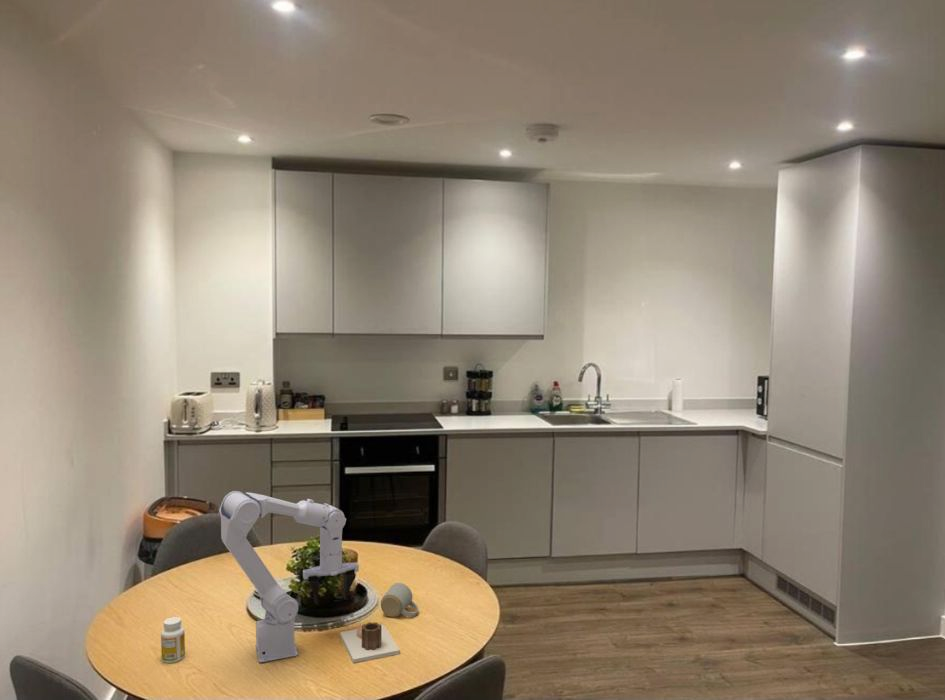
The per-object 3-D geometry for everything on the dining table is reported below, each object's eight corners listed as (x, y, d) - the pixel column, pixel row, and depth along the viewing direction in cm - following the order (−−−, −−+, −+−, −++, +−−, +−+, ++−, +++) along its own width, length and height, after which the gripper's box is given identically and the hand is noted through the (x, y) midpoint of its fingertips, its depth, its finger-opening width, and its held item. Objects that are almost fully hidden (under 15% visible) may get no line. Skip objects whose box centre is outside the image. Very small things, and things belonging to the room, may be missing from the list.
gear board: (353, 663, 170) (353, 647, 170) (340, 635, 184) (339, 621, 184) (399, 653, 175) (399, 638, 175) (383, 627, 189) (383, 613, 189)
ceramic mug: (378, 616, 195) (379, 591, 195) (389, 604, 203) (389, 580, 202) (412, 622, 193) (413, 596, 192) (421, 610, 200) (422, 585, 200)
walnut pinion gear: (364, 651, 174) (364, 632, 174) (359, 642, 179) (359, 624, 178) (383, 648, 176) (383, 629, 176) (378, 639, 181) (378, 620, 180)
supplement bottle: (178, 650, 176) (177, 613, 175) (189, 657, 172) (188, 619, 172) (157, 658, 172) (156, 620, 171) (168, 666, 168) (167, 627, 167)
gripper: (306, 560, 176) (306, 611, 177) (361, 552, 182) (361, 602, 183) (301, 551, 183) (301, 600, 184) (355, 543, 189) (355, 591, 190)
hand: (331, 600), depth 184 cm, fingers open, 7 cm apart
